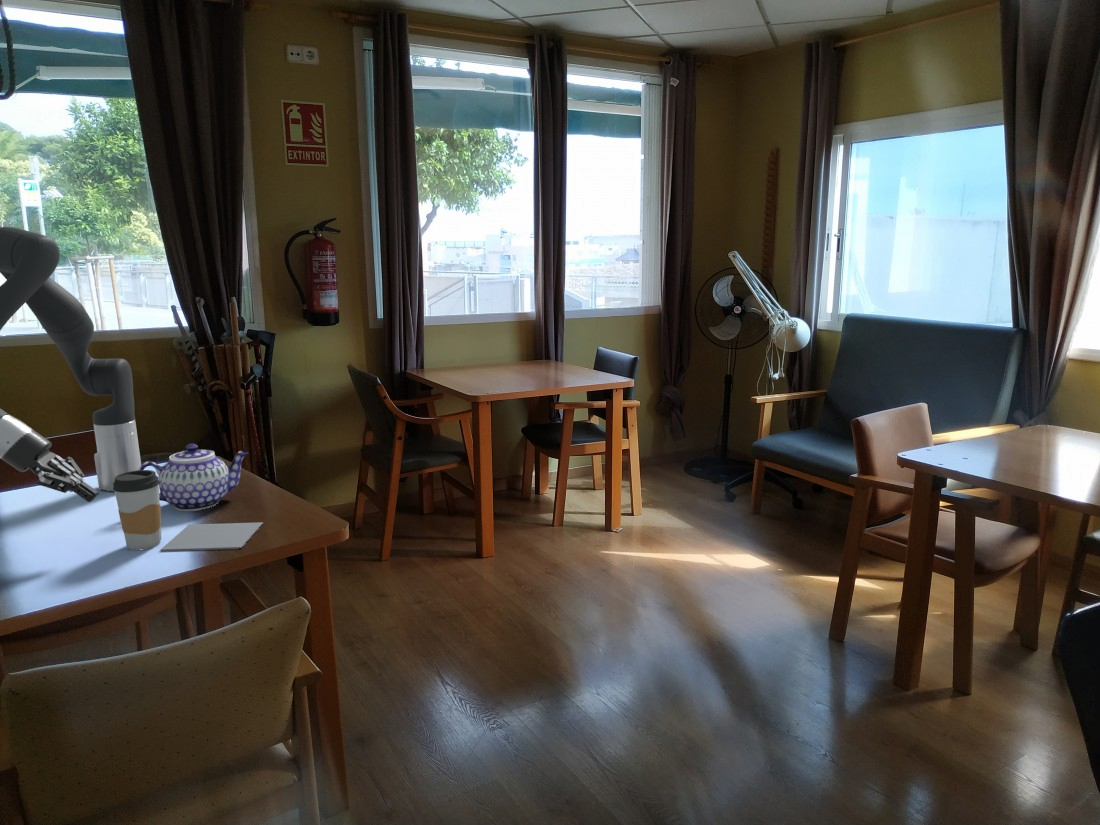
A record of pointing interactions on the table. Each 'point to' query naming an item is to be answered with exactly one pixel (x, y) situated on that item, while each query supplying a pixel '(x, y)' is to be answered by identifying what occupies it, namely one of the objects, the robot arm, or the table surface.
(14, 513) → the table surface
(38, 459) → the robot arm
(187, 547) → the mat
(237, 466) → the teapot
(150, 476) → the coffee cup
